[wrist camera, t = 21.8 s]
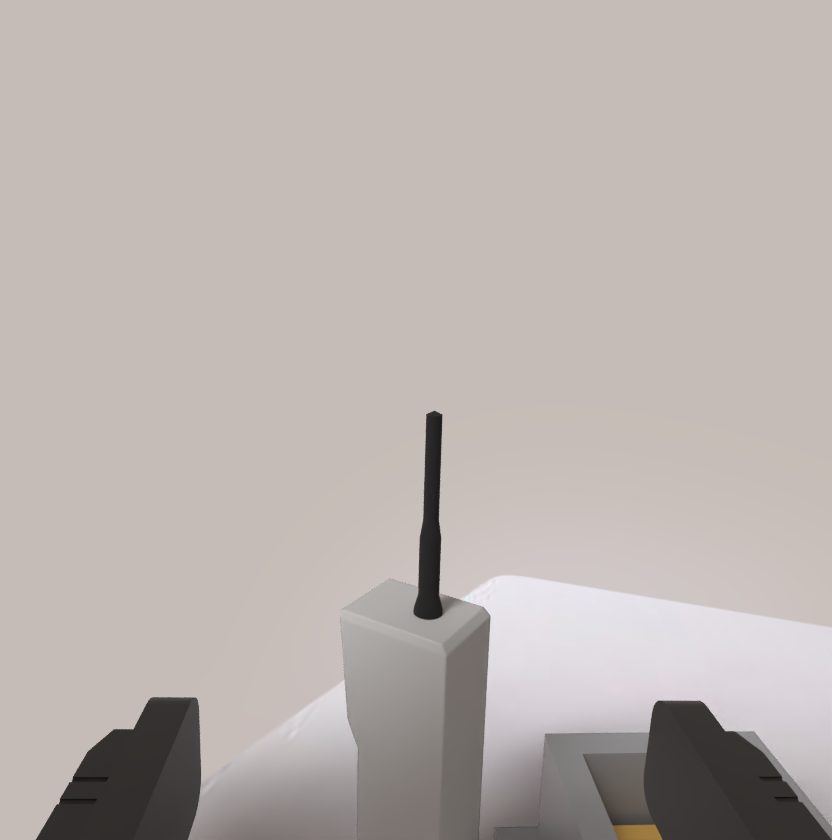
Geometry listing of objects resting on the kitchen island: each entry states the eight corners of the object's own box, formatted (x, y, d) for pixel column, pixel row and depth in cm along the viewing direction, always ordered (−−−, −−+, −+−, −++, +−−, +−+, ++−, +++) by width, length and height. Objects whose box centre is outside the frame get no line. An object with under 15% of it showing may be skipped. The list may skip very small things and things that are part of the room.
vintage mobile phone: (385, 887, 34) (394, 394, 29) (473, 939, 31) (502, 409, 26) (338, 947, 31) (339, 408, 26) (432, 1011, 28) (455, 426, 23)
